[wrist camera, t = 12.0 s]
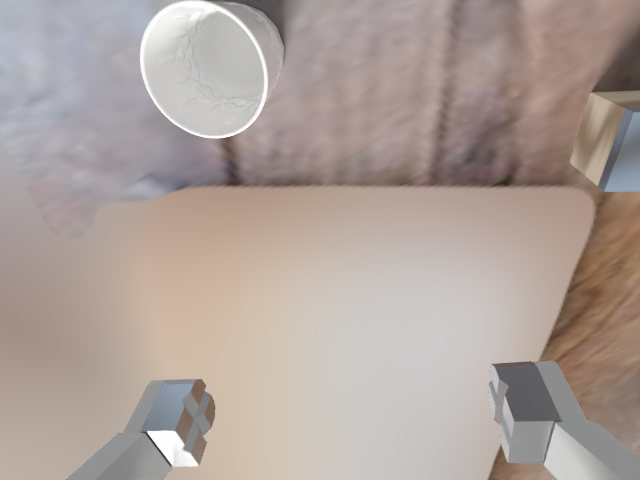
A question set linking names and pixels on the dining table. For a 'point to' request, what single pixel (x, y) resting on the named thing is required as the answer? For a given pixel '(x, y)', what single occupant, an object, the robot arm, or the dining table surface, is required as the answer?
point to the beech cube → (610, 141)
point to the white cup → (211, 64)
